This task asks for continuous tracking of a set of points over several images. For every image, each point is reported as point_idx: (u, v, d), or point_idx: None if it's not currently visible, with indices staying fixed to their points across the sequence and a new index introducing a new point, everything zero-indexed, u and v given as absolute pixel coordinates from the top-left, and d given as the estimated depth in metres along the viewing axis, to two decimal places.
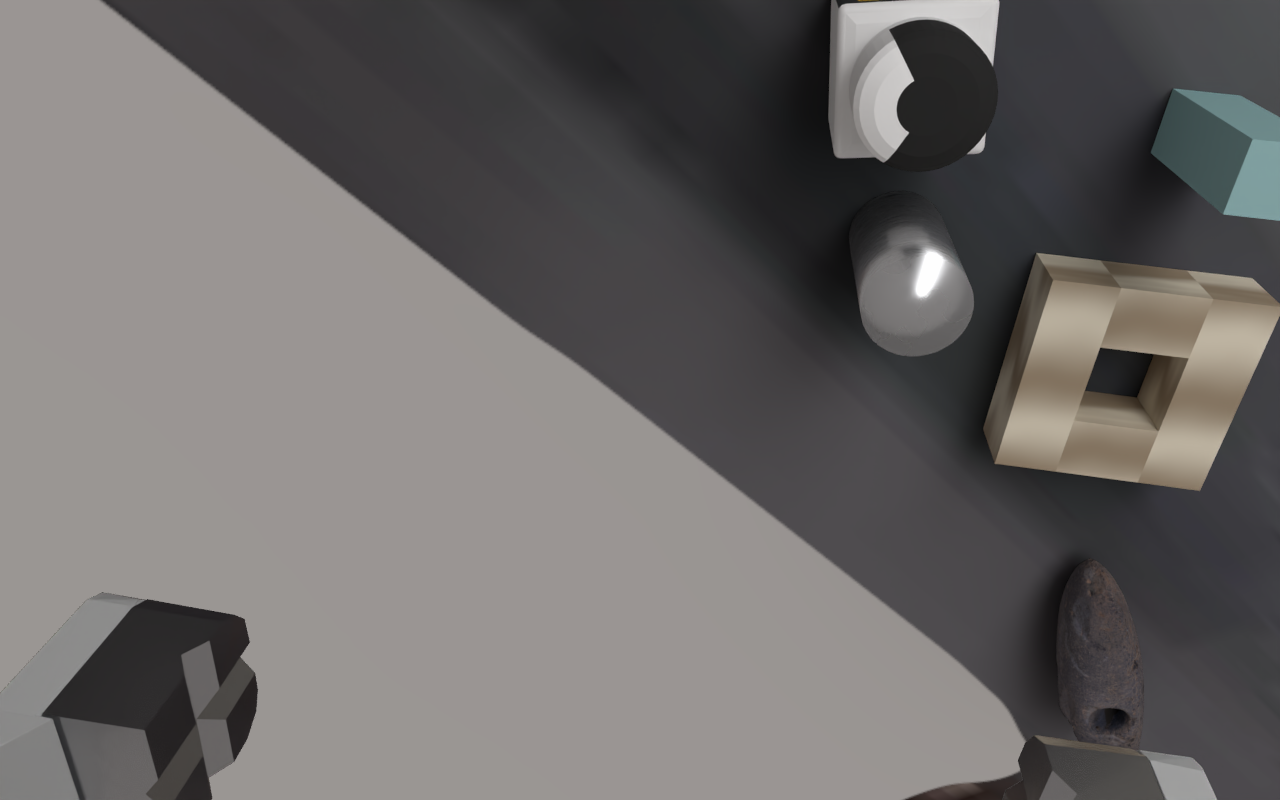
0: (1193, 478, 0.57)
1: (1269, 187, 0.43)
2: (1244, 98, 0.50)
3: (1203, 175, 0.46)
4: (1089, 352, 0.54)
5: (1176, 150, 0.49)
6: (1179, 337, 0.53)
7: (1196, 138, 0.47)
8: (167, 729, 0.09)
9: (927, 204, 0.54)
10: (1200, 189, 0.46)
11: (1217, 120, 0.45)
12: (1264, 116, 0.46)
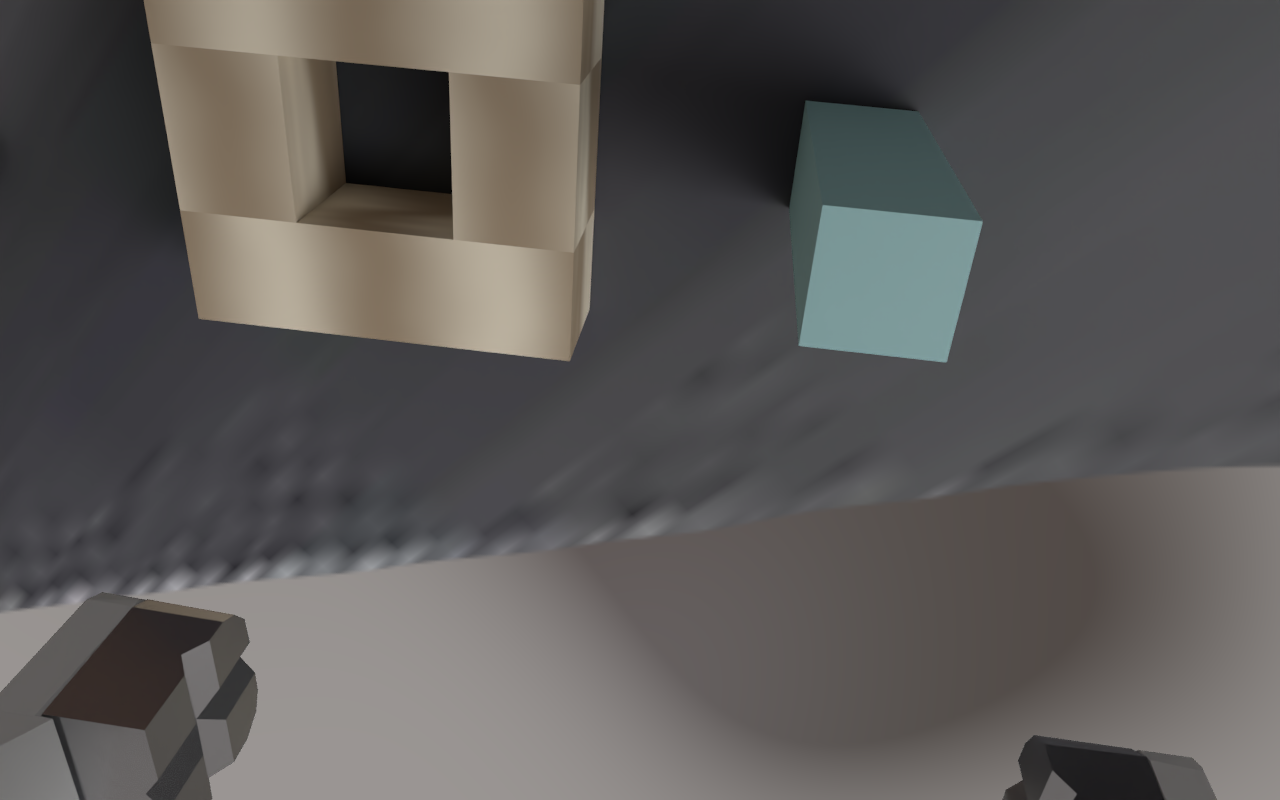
0: (219, 302, 0.31)
1: (875, 275, 0.22)
2: None
3: (849, 166, 0.24)
4: (434, 53, 0.26)
5: (845, 128, 0.27)
6: (492, 214, 0.28)
7: (890, 148, 0.25)
8: (167, 729, 0.09)
9: None
10: (825, 167, 0.23)
11: (947, 169, 0.24)
12: None
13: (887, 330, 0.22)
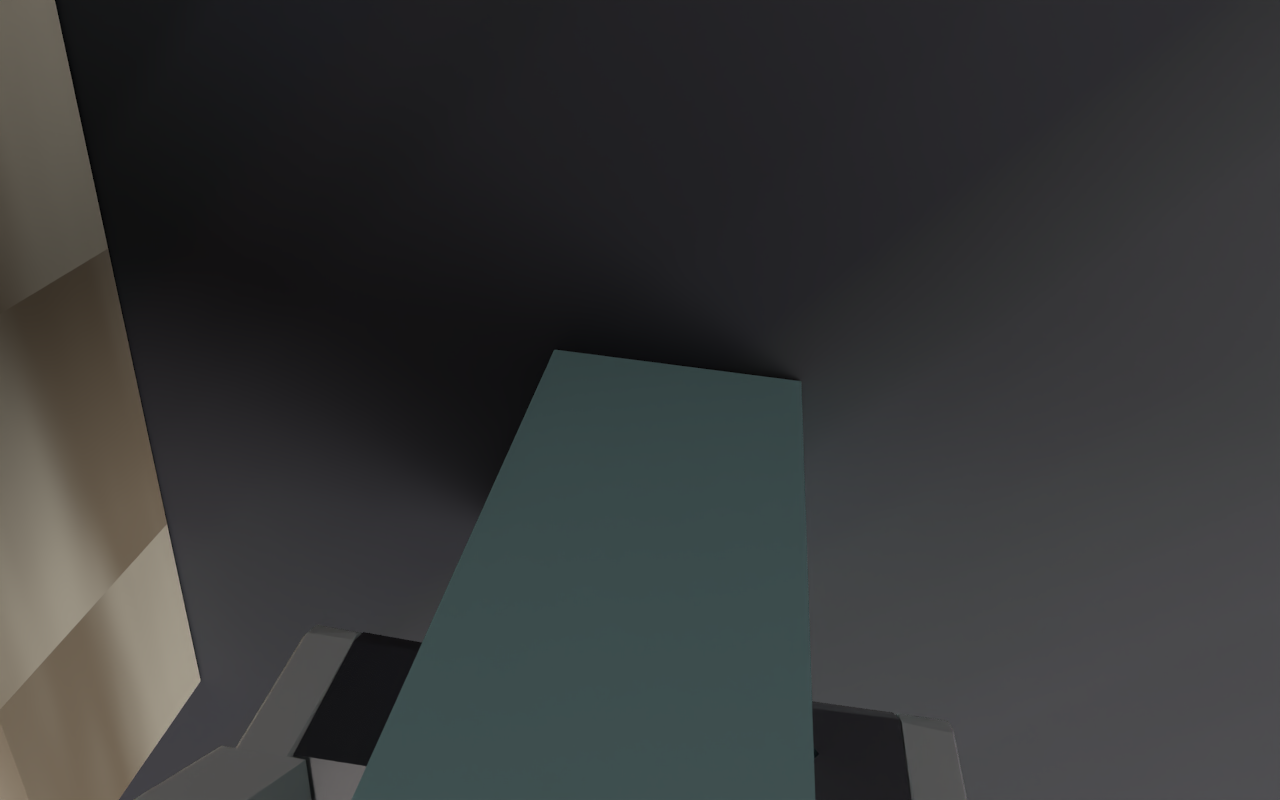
0: None
1: None
2: None
3: (477, 766, 0.07)
4: None
5: (587, 483, 0.11)
6: None
7: (664, 600, 0.09)
8: None
9: None
10: (391, 775, 0.07)
11: (796, 748, 0.08)
12: None
13: None
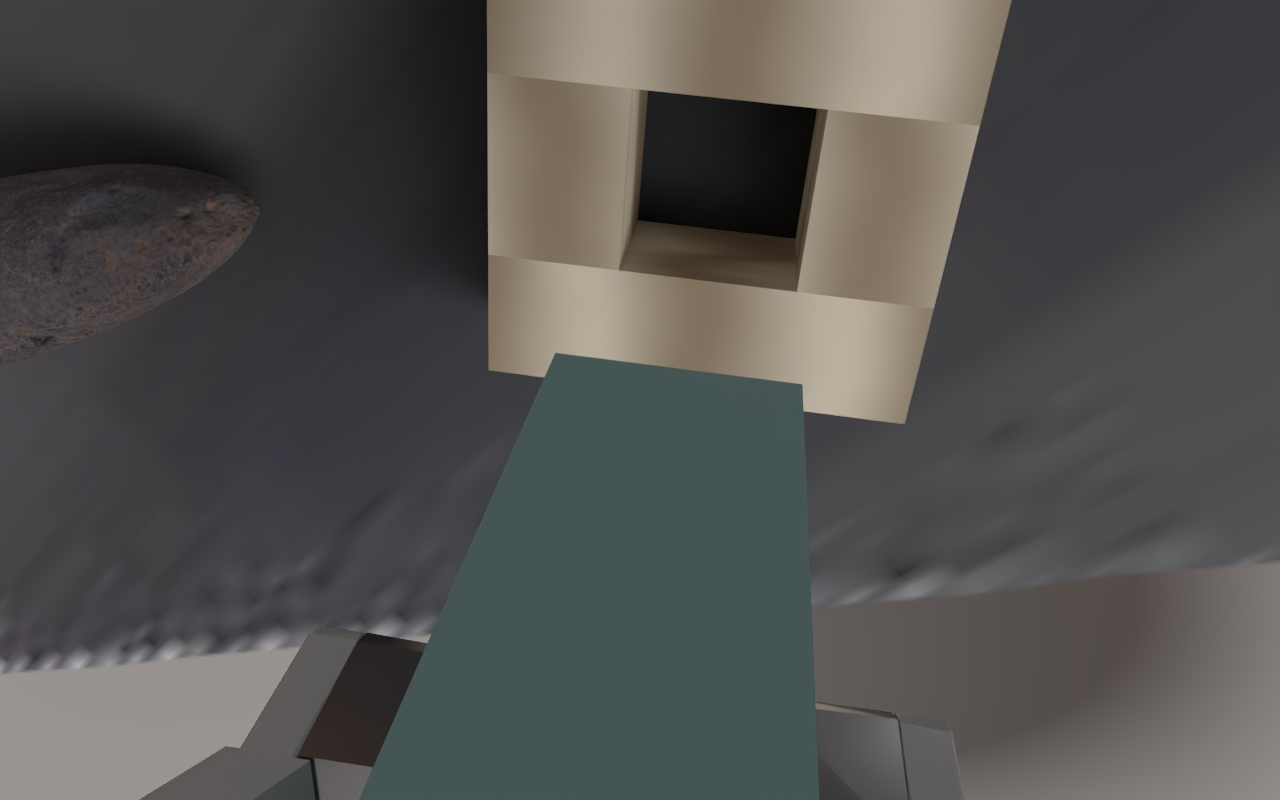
0: (515, 353, 0.28)
1: None
2: None
3: (482, 773, 0.07)
4: (815, 88, 0.23)
5: (590, 486, 0.11)
6: (847, 265, 0.25)
7: (666, 605, 0.09)
8: None
9: None
10: (395, 782, 0.07)
11: (800, 754, 0.08)
12: None
13: None
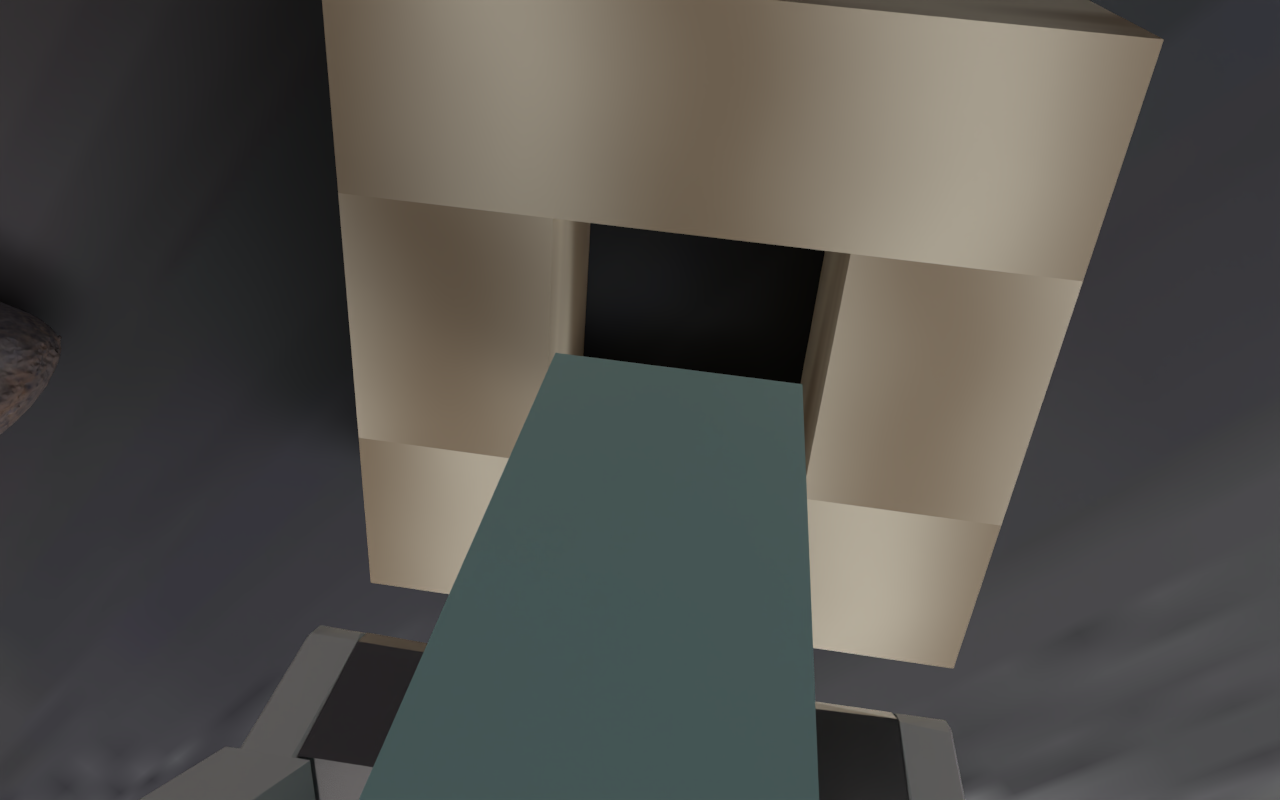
0: (405, 563, 0.20)
1: None
2: None
3: (481, 774, 0.07)
4: (831, 223, 0.15)
5: (590, 486, 0.11)
6: (876, 465, 0.17)
7: (666, 605, 0.09)
8: None
9: None
10: (395, 781, 0.07)
11: (800, 753, 0.08)
12: None
13: None
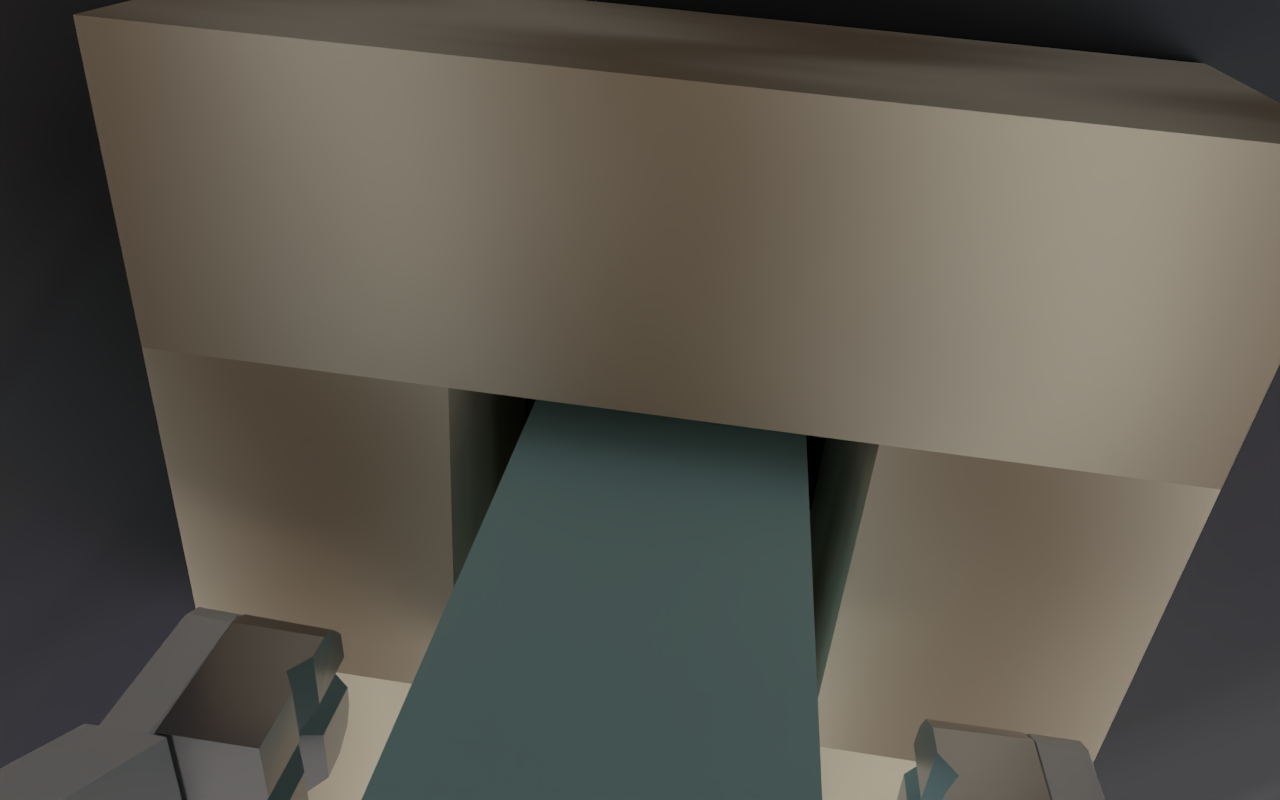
0: None
1: None
2: None
3: (529, 634, 0.09)
4: (851, 403, 0.10)
5: (611, 416, 0.12)
6: (909, 710, 0.12)
7: (682, 509, 0.10)
8: (276, 747, 0.09)
9: None
10: (456, 639, 0.09)
11: (799, 624, 0.09)
12: None
13: None
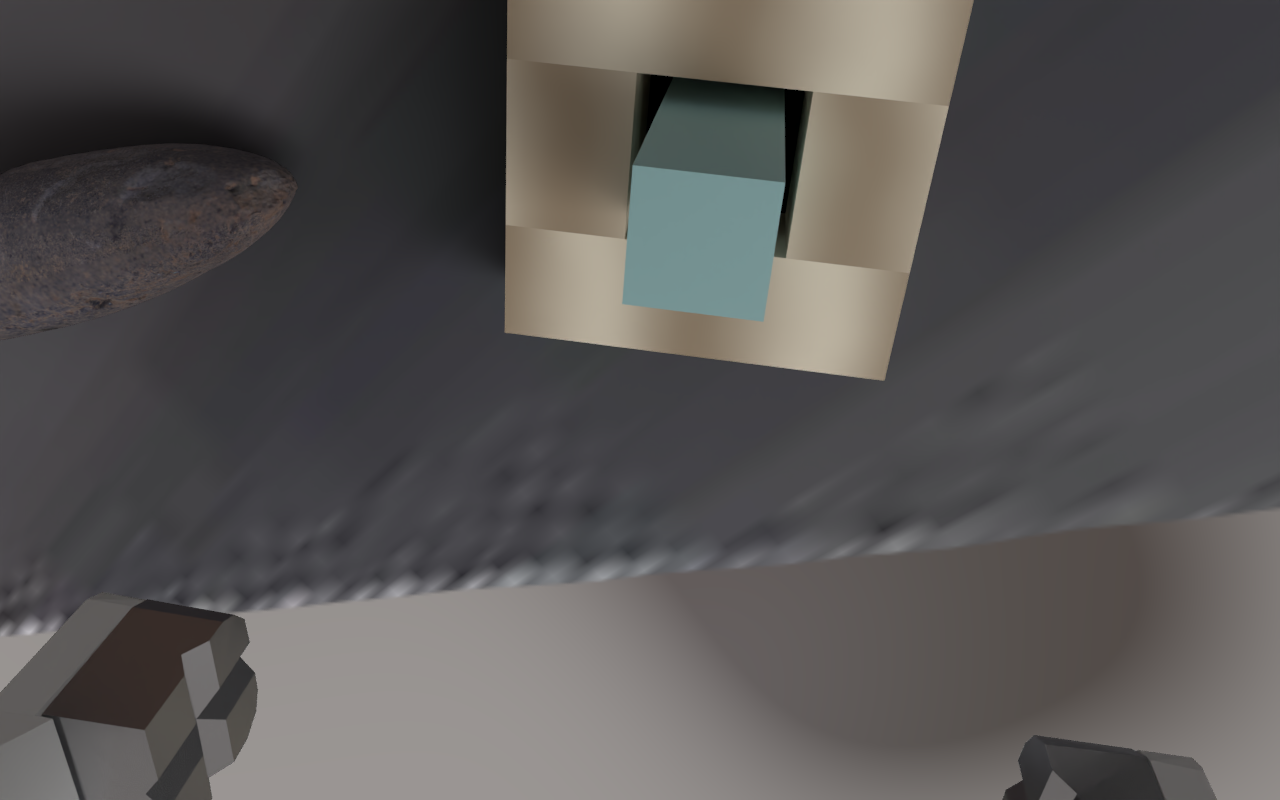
0: (529, 317, 0.30)
1: (688, 234, 0.22)
2: None
3: (681, 132, 0.24)
4: (801, 72, 0.26)
5: (699, 98, 0.28)
6: (831, 233, 0.28)
7: (733, 117, 0.26)
8: (167, 729, 0.09)
9: None
10: (656, 132, 0.24)
11: (779, 136, 0.25)
12: None
13: (704, 289, 0.23)
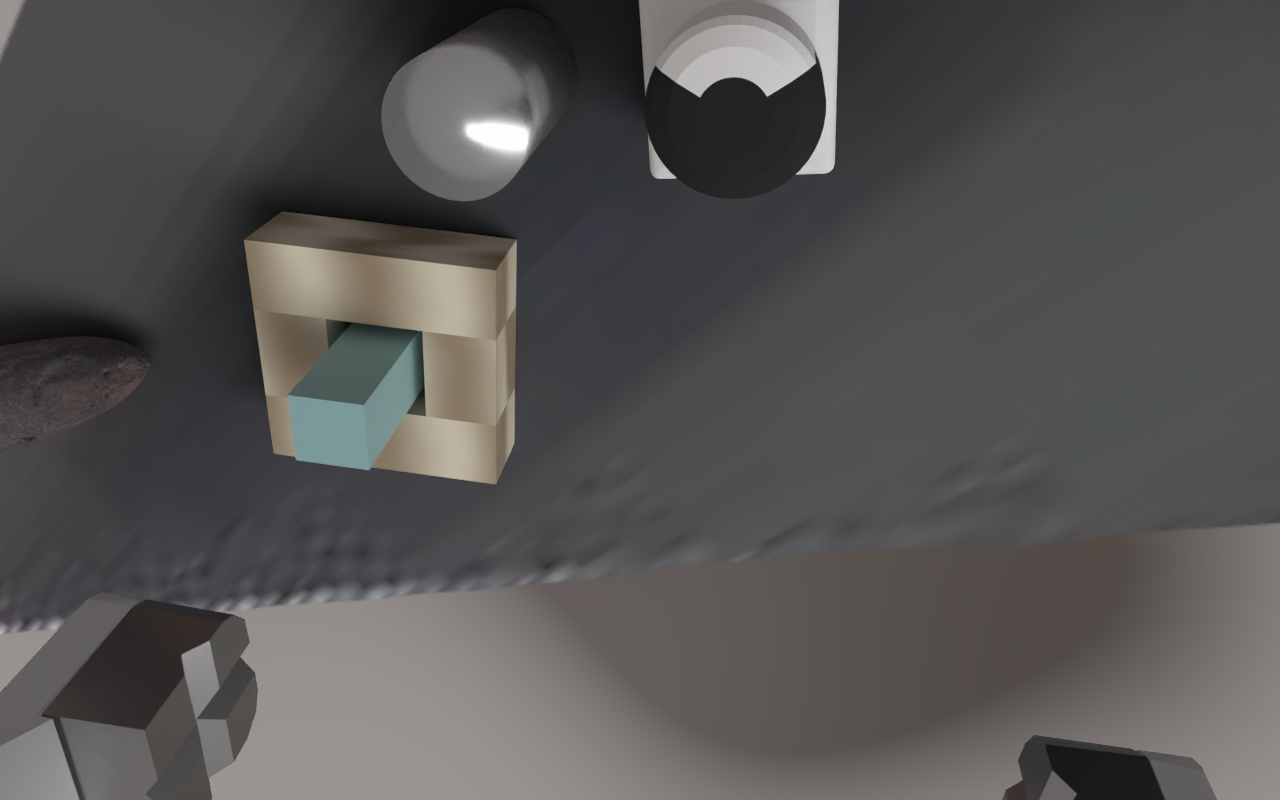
0: (286, 445, 0.51)
1: (322, 427, 0.43)
2: None
3: (334, 363, 0.45)
4: (414, 321, 0.46)
5: (369, 327, 0.48)
6: (448, 403, 0.48)
7: (377, 345, 0.46)
8: (167, 729, 0.09)
9: (566, 108, 0.43)
10: (320, 363, 0.44)
11: (391, 363, 0.45)
12: (407, 397, 0.48)
13: (336, 454, 0.43)
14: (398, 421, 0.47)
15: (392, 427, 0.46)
